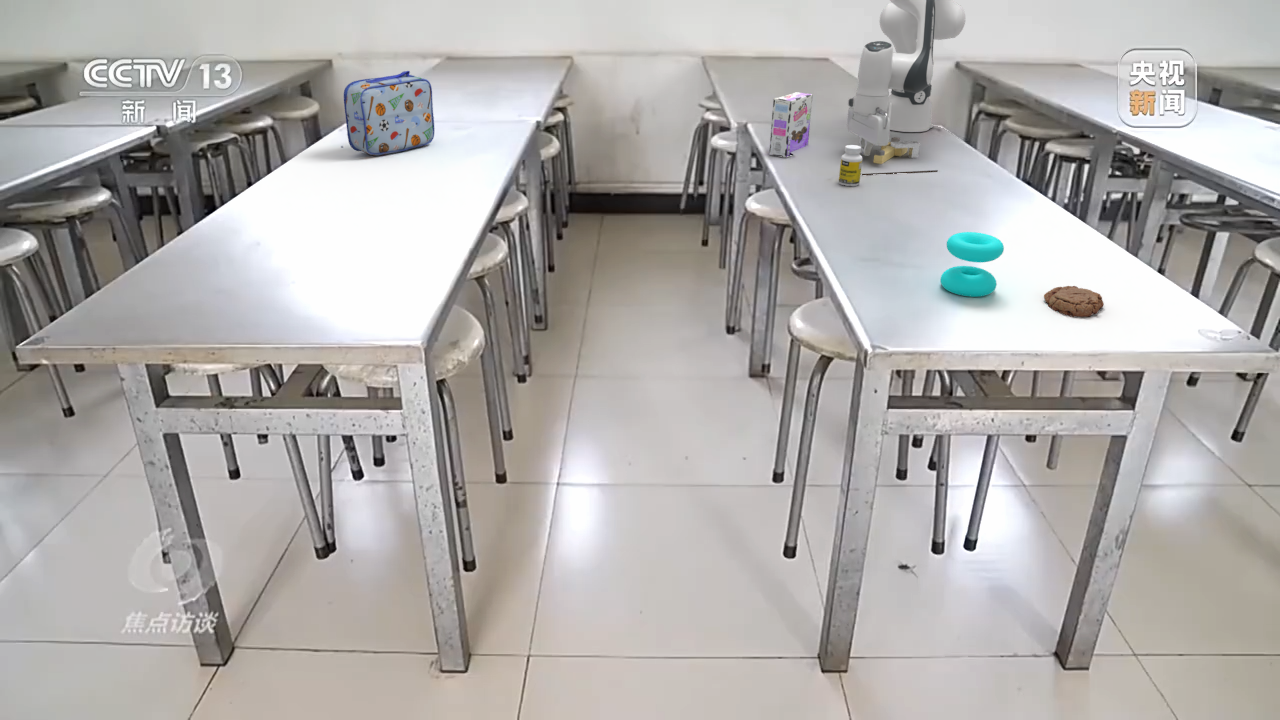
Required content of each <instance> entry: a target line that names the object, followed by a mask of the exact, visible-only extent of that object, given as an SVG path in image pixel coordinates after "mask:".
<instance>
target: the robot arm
mask: <svg viewBox="0 0 1280 720" xmlns="http://www.w3.org/2000/svg"><path fill="white" fill-rule="evenodd" d="M889 1H890V2H888V3H887V4H886V5H885V6H884V7H883V9H882V10H881V13H880V16H879V26H880V29H881V31H882V33H883V34H884V35H885V36H886V38H888V39H889V41H890V42H891V43H890V42H887V41H884V40H883V41H881V40H876V41H871V42H869V43H868V42H867V44H865V45H864V47H863V49H862V51H861V52H862V53H861V57H860V59H859V60H860V61H859V66H858V73H857V79H858V83H857V84H858V86H857V88H856V91H855V96H852V97H850V98H849V97H848V99H847V106H848V110H847V117H846V127H847V131H848V132H850V133H852V134H853V135H856V136H857V137H859V140H858V141H859V142H858V143H859V146H860V147H861V153H860V155H863V156H866V157H867V156H868V157H869V156H870V155H871V151H872V149H873V146H876V147H881V146H886V145H887V144H888V142H890V135H891V133H890V131H896V132H904V133H921V132H926V131H929V130H931V128H934V124H933V123H932V114H933V113H932V110H933V102H932V100H931V99H930V97H931V93H932V83H931V82H932V79H933V74H934V64H935V61H934V59H933V55H934V41H935V40H938V41H939V40H941V41H943V40H948V39H954V38H956V37H958V36H959V35H960V34H961V32H962V31H963V30H964V27H965V25H966V24H965V23H966V13H965V11H964V10H965V9H964V8H963V7H962V5H960V4H958V3H957V2H956V1H955V0H889ZM893 47H894V48H893ZM894 50H895V52H894Z"/></svg>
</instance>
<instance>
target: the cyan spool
mask: <svg viewBox="0 0 1280 720" xmlns="http://www.w3.org/2000/svg"><path fill="white" fill-rule="evenodd" d="M946 248H947V251H948V252H949V253H950V254H951V255H952V256H953V257H955V258H956V259H959V260H961V261H966V262H970V263H989V262H993V261H995V260H996V259H998V258H1000V257H1001V256H1002V255H1003V254H1004V250H1005V247H1004V243H1003V242H1002V241H1001V240H1000V239H999V238H998V237H996V236H993V235H991V234H987V233H981V232H975V231H963V232H958V233H954V234H953V235H951V236H949V238H948V239H947V241H946ZM940 284H941V285H942V287H943V288H944V290H946V291H948V292H950V293H952V294H955V295H958V296H964V297H972V298H977V297H978V298H979V297H986V296H988V295H990V294H992V293H993V292H994V291H995V290H996V288H997V280H996V278H995V276H994V275H993V274H992V273H991V272H989V271H987V270H986V269H984V268H980V267H977V266H972V265H957V266H952V267H950V268H948V269H947V268H946V270H945V271H943V272H942V274H941V276H940Z"/></svg>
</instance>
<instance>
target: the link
mask: <svg viewBox="0 0 1280 720" xmlns="http://www.w3.org/2000/svg"><path fill="white" fill-rule="evenodd" d="M890 145H891V141H889V142H888V144H887V145H886V146H880V149H877V150H875V154H873V155H874V156H873V163H874V164H878V165H882V164H884V163H885V162H887V161H889V160H890V159H892V158H893V157H895V156H896V157H903V156H904V155H905V154H906V153H908V151H909V148H894V147H892V146H890Z"/></svg>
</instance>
